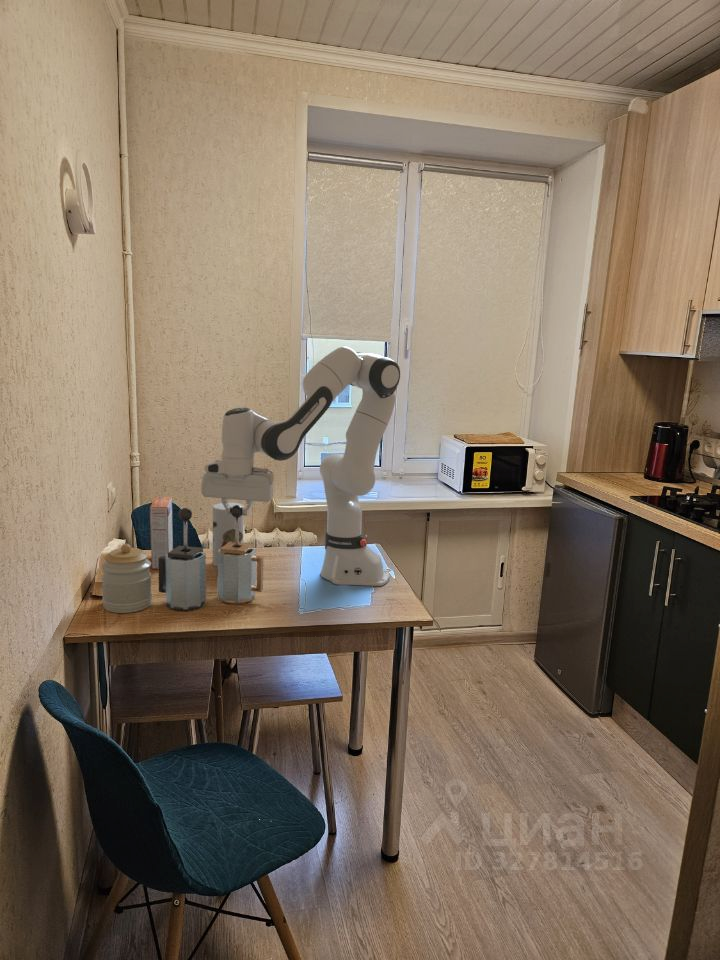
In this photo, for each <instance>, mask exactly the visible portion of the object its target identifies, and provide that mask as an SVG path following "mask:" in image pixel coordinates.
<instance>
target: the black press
mask: <svg viewBox="0 0 720 960" xmlns="http://www.w3.org/2000/svg"><path fill="white" fill-rule="evenodd" d="M187 548H188V552H184V545H178V546H176V547H175V548H173V550H172V551H170V552H169V553H168V554H166V556H161V557H160V558H158V565H159V569H158V593H162V594H165V603H166V607H167V608H168V609H171V610H173V611H178V612H189V611H188V610H191V611H195V610H194V609H196V610H198V608H199V609H201V608H203V607H204V606H205V604H206V600H207V599H206V597H207V596H206V595H207V594H206V591H207V590H206V583H207V581H206V578H207V576H206V574H207V573H206V571H207V569H206V567H207V566H206V561H207V560H206V557H207V555H206V554H207V553H205V552H204V547H198V546H196V547H195V546H189V545H187ZM184 559H188V560H184ZM203 605H204V606H203ZM202 606H203V607H202ZM200 607H201V608H200Z"/></svg>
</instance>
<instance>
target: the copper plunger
mask: <svg viewBox="0 0 720 960" xmlns="http://www.w3.org/2000/svg"><path fill="white" fill-rule="evenodd" d="M242 509H243V508H242V507H241V506H240V505H235V506H233V507H232V509H231V514H232V516H233V517H235V547H237V548H239V517H241V516H242V513H243V512H242ZM235 555H239V554H235Z"/></svg>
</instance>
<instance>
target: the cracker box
mask: <svg viewBox="0 0 720 960" xmlns="http://www.w3.org/2000/svg"><path fill="white" fill-rule="evenodd" d="M172 500H173V498H172V496H156V497H154V498H153V501H152V503H151V504H150V507H149V519H150V520H149V522H150V550H151V552H150V554H151V555H150V556H151V569H152V570H159V565H158V558H160V557H161V556H166V554H168V553H169V552H170V551H172V550H173V549H174V545H173V544H174V541H173V540H174V539H173V502H172Z"/></svg>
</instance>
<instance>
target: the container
mask: <svg viewBox="0 0 720 960" xmlns="http://www.w3.org/2000/svg"><path fill="white" fill-rule="evenodd" d="M228 504H229V506H230V507H233V506H235V505H240V506H241V507H242V508H243V509H244V508H245V506H244V505H243V504H242V503H238V502H228ZM244 516H245V515H242V516H241V517H239V531H240V532H241V533H242V534H243V535H244V520H245V519H244ZM232 529H235V517H233V516H232V514H226V513H225V507H224V505H223V504H222V502H220V503H216V504H213V505H212V565H213V566H214V567H216V566H217V567H216V568H218V550H219V549H220V548H221V546H222V542H223V541H224V540H223V534H224V533H225V532H227V531H229V530H232ZM241 543H244V538H243V539H242V540H241Z"/></svg>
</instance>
